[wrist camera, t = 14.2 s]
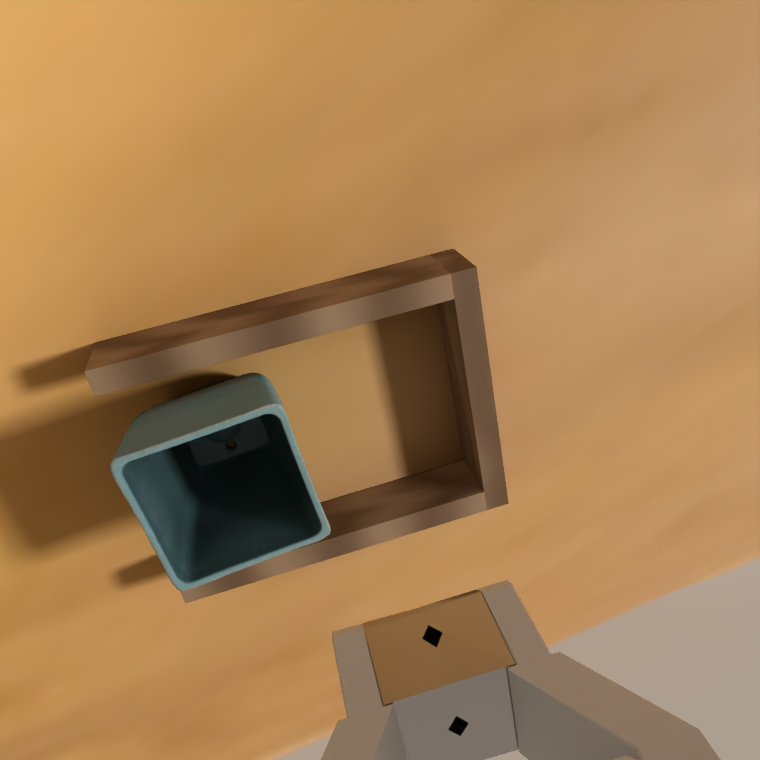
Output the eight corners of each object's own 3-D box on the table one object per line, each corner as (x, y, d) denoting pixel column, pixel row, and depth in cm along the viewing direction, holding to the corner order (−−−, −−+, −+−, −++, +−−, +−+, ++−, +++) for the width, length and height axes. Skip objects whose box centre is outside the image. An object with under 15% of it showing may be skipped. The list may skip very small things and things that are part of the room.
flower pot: (266, 335, 42) (281, 401, 34) (311, 453, 46) (334, 537, 38) (123, 384, 41) (104, 463, 33) (182, 499, 45) (177, 595, 37)
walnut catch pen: (186, 562, 47) (185, 603, 44) (94, 342, 40) (84, 371, 36) (486, 471, 50) (508, 503, 46) (453, 248, 42) (476, 266, 39)
